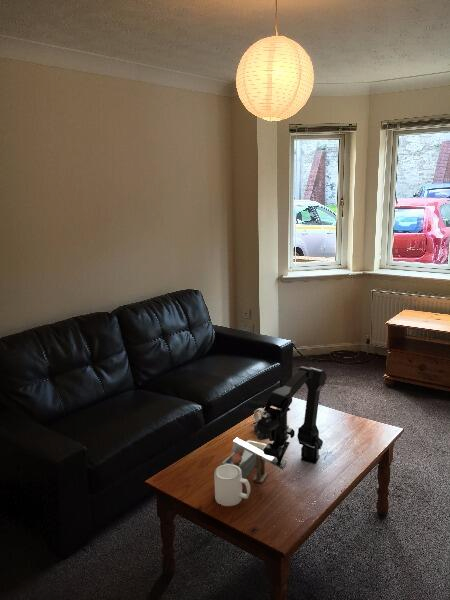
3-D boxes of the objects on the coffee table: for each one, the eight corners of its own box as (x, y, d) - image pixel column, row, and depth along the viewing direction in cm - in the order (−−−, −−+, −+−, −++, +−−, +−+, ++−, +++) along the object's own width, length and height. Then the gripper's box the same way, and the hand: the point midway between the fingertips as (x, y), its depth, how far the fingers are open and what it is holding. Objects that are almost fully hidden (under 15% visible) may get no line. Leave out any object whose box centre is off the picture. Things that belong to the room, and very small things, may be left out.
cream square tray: (268, 451, 207) (268, 444, 207) (259, 463, 199) (259, 455, 198) (248, 447, 212) (248, 440, 211) (239, 458, 203) (239, 450, 203)
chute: (257, 462, 200) (257, 444, 198) (239, 486, 184) (239, 467, 182) (241, 458, 203) (241, 440, 201) (222, 481, 187) (221, 463, 185)
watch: (264, 435, 221) (264, 413, 219) (251, 430, 227) (251, 408, 224) (272, 431, 225) (271, 409, 223) (258, 425, 231) (258, 404, 228)
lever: (283, 473, 187) (287, 461, 185) (278, 479, 182) (283, 468, 180) (234, 446, 195) (237, 435, 193) (229, 452, 190) (232, 441, 188)
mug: (254, 493, 179) (254, 468, 177) (245, 510, 170) (245, 484, 167) (221, 486, 184) (220, 462, 182) (210, 502, 175) (209, 476, 172)
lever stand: (268, 474, 191) (268, 449, 188) (262, 483, 185) (261, 457, 183) (259, 472, 193) (258, 447, 190) (252, 480, 187) (252, 455, 185)
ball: (243, 463, 190) (243, 453, 190) (239, 466, 187) (239, 456, 186) (234, 461, 192) (234, 451, 192) (230, 464, 188) (230, 454, 188)
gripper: (268, 410, 192) (268, 445, 195) (250, 431, 176) (250, 469, 179) (295, 415, 187) (294, 451, 190) (278, 437, 171) (278, 476, 174)
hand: (279, 461), depth 184 cm, fingers closed, pressing on lever
